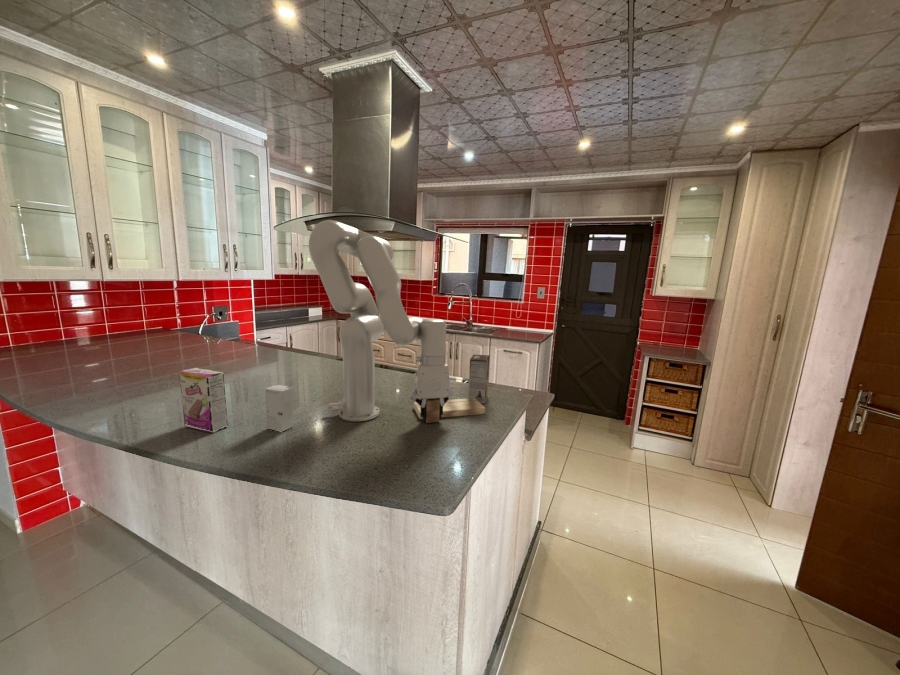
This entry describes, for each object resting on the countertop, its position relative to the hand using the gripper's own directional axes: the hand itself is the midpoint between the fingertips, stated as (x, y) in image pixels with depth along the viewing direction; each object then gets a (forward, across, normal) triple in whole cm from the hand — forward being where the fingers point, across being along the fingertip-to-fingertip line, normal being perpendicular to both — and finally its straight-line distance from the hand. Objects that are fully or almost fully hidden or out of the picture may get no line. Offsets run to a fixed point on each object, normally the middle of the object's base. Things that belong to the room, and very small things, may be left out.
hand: (431, 417), depth 106 cm
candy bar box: (+1, -63, +9) cm, 64 cm away
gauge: (+1, 0, +4) cm, 4 cm away
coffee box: (+2, +22, +16) cm, 27 cm away
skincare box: (+1, -43, +4) cm, 44 cm away
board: (+1, +8, +7) cm, 11 cm away
